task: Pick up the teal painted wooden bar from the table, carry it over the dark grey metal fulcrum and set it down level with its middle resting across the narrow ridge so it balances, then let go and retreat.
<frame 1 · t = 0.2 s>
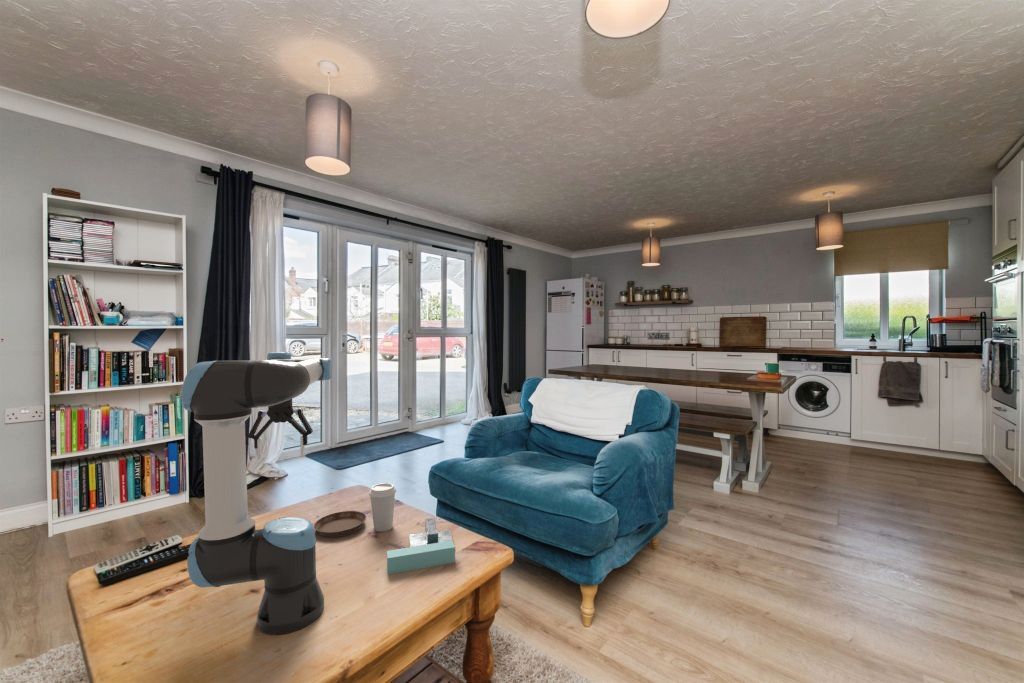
hand: (281, 455, 153), 28 cm above the table, fingers open, 13 cm apart
coffee cup: (383, 528, 158), on the table
plant saucer: (340, 529, 158), on the table
fulcrum: (431, 543, 145), on the table
bar: (421, 565, 133), on the table
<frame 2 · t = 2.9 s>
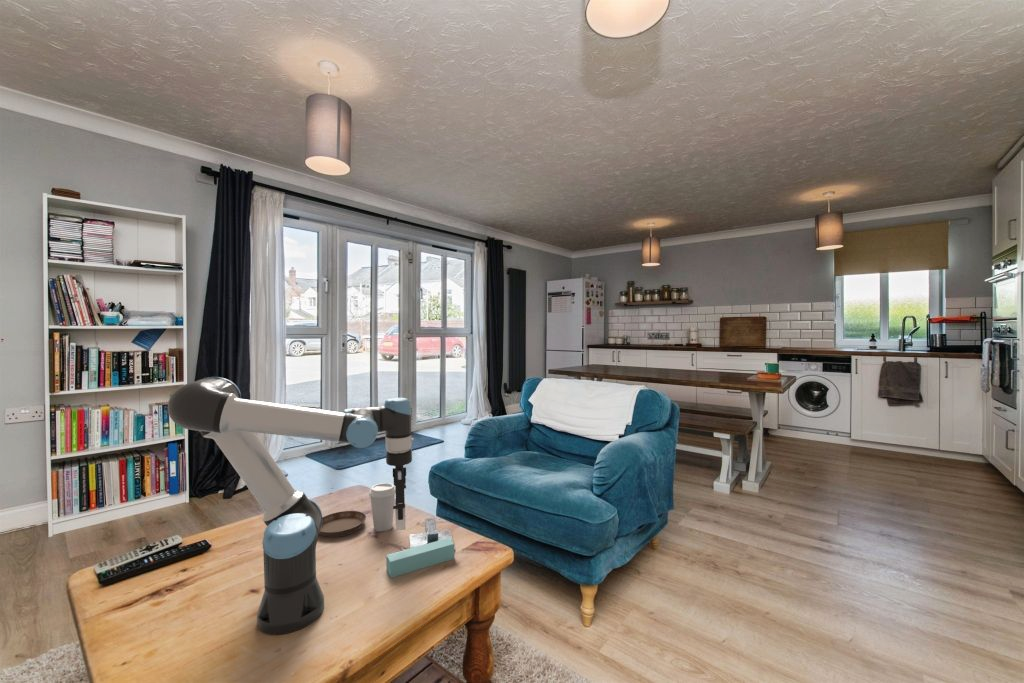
hand: (400, 519, 131), 14 cm above the table, fingers open, 13 cm apart
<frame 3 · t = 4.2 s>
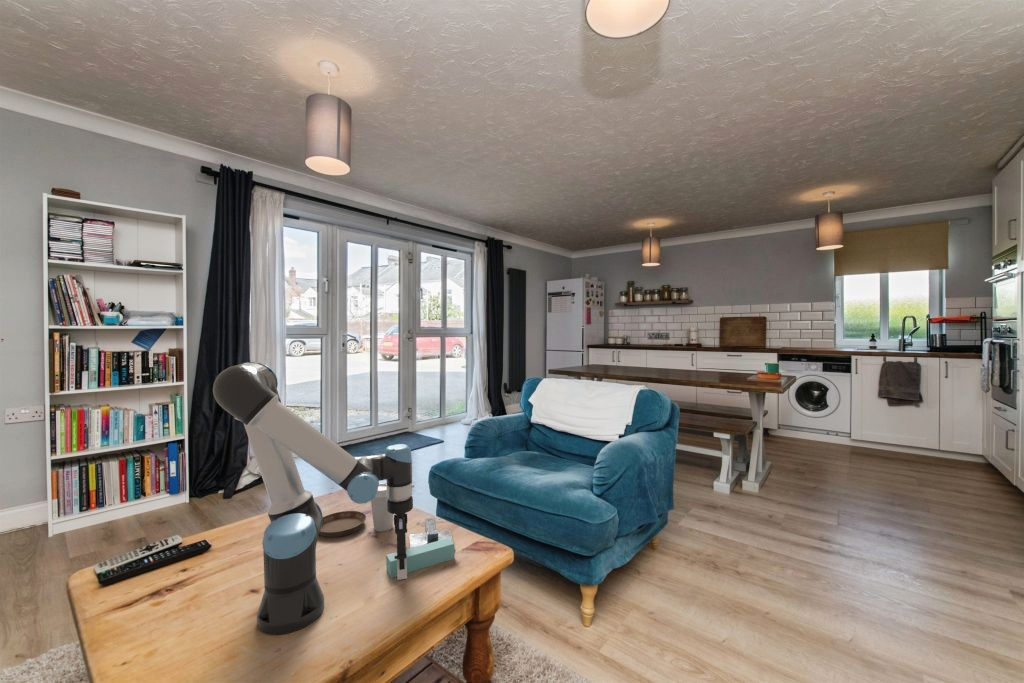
hand: (402, 566, 131), 0 cm above the table, fingers open, 13 cm apart
nothing on the table moved.
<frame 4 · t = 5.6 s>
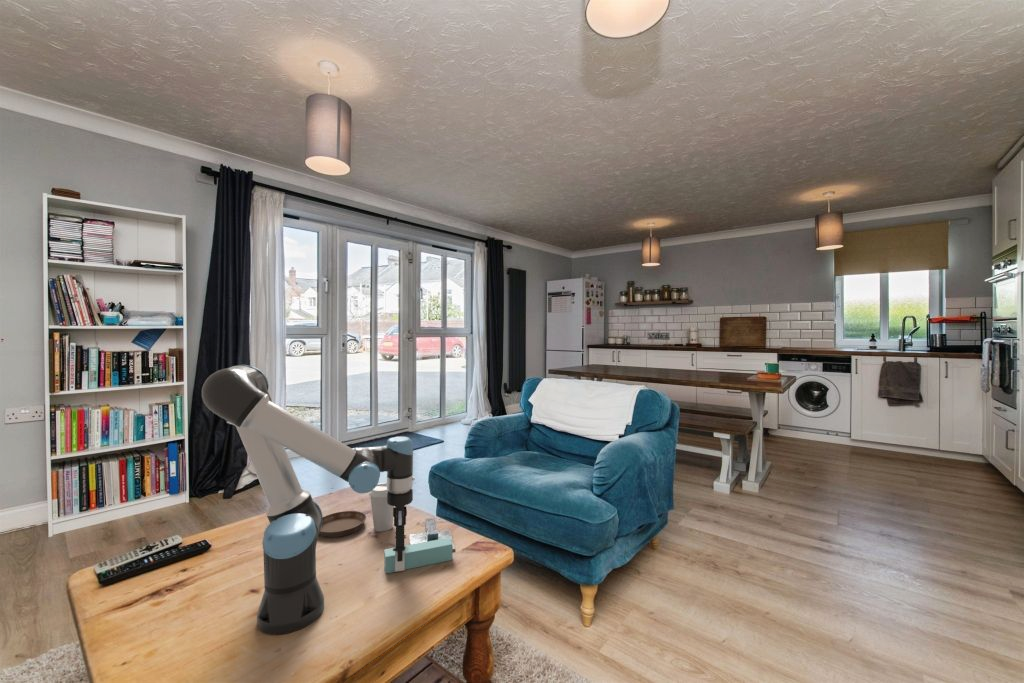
hand: (399, 565, 131), 0 cm above the table, fingers closed on bar, 5 cm apart
bar: (418, 562, 133), on the table, touching gripper
everything else where it was.
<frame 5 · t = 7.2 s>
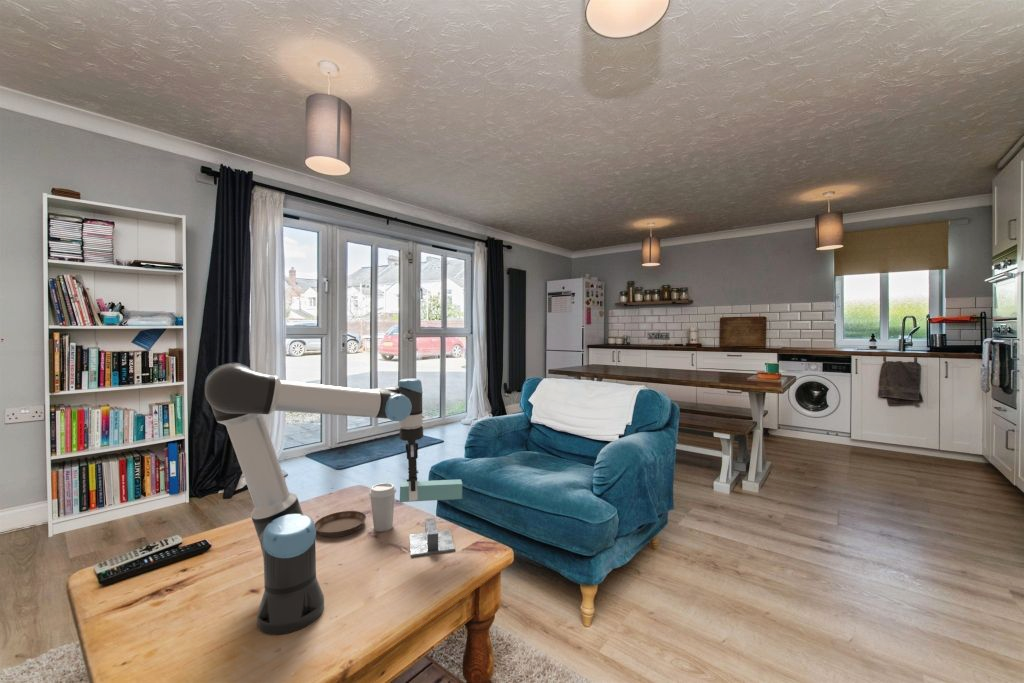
hand: (413, 496, 142), 17 cm above the table, fingers closed on bar, 4 cm apart
bar: (430, 497, 143), point 16 cm above the table, touching gripper
everything else where it was.
when the fingers open (8 cm above the table, at t = 8.7 s): bar stays where it is, resting on fulcrum.
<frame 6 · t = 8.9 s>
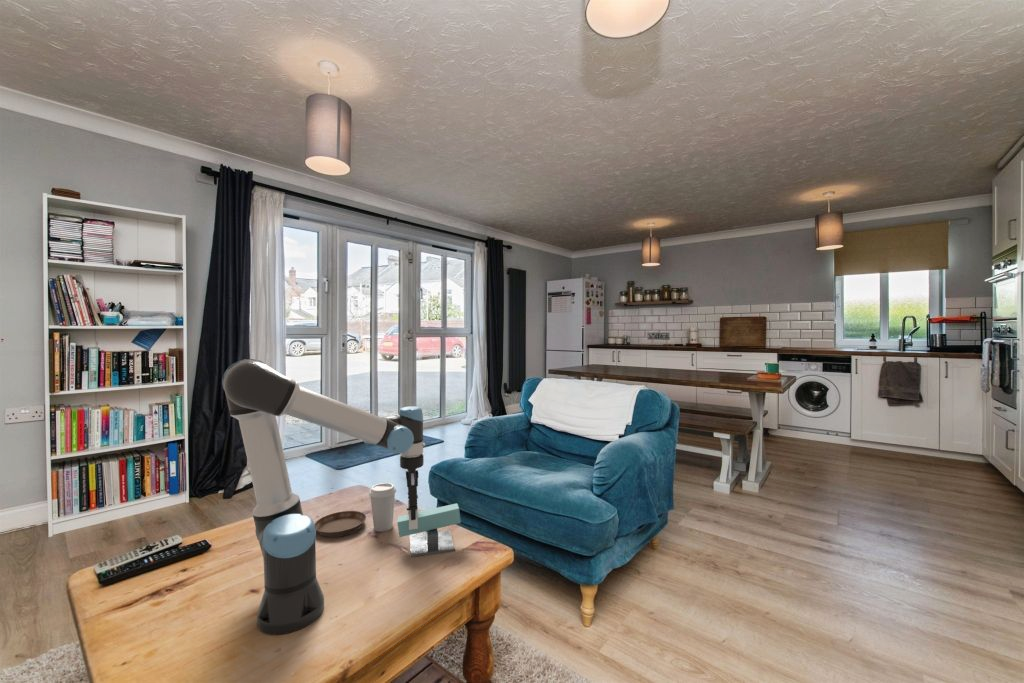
hand: (412, 523, 143), 8 cm above the table, fingers open, 7 cm apart
bar: (430, 527, 144), point 6 cm above the table, tilted 6°, touching fulcrum
everything else where it was.
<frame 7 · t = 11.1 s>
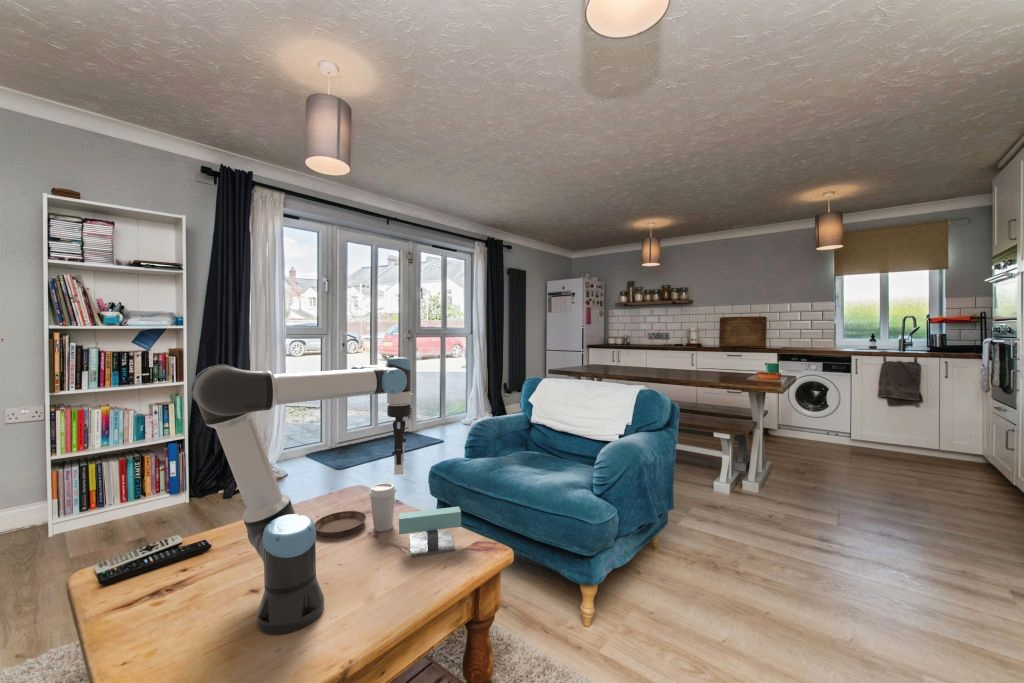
hand: (399, 467, 144), 26 cm above the table, fingers open, 13 cm apart
bar: (430, 527, 144), point 6 cm above the table, touching fulcrum
everything else where it was.
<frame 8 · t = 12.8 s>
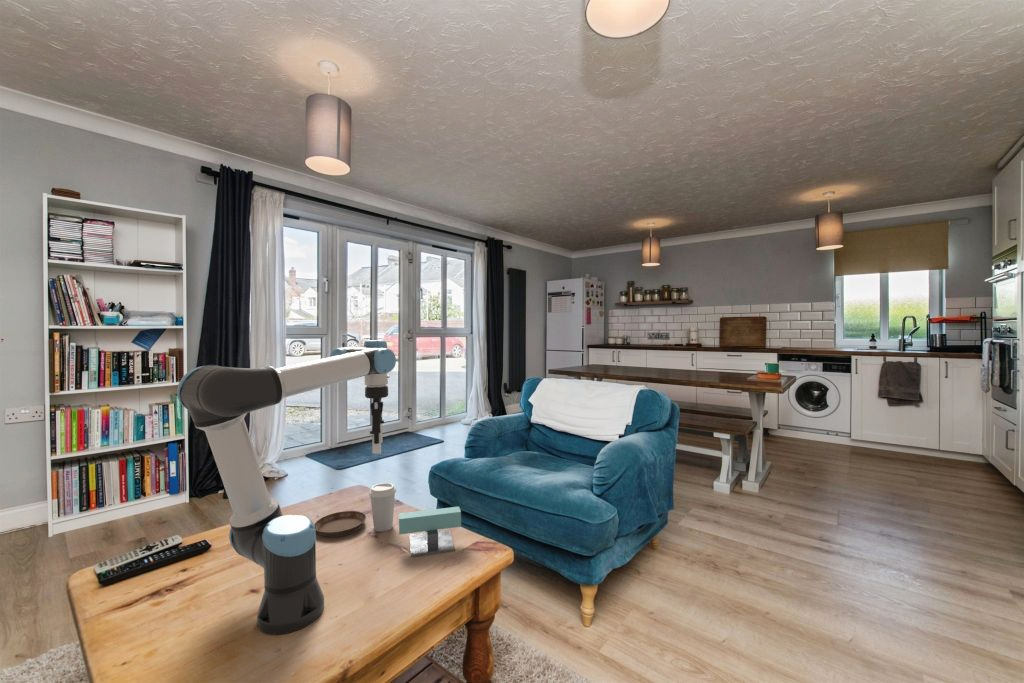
hand: (377, 447, 148), 32 cm above the table, fingers open, 13 cm apart
nothing on the table moved.
at the end: bar 1.1 cm off-centre on the fulcrum, point 6.0 cm above the fulcrum's base; bar tilted 0°; bar touching fulcrum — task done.
